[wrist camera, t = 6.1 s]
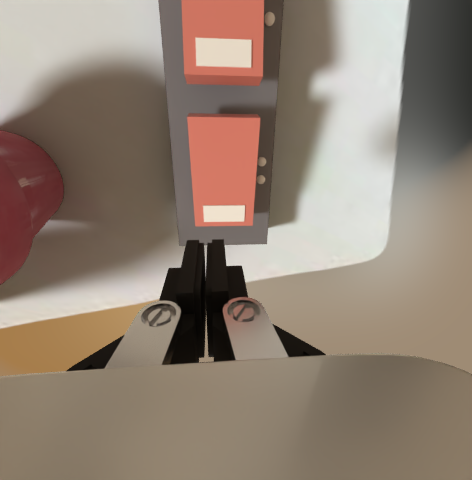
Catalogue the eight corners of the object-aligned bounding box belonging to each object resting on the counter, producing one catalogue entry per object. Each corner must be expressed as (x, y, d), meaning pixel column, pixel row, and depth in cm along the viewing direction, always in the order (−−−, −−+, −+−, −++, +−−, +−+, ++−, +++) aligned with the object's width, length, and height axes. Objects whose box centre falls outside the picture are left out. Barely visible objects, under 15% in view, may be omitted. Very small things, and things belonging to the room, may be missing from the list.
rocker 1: (181, -69, 17) (177, -98, 15) (260, -64, 17) (265, -91, 15) (187, 83, 18) (184, 73, 17) (258, 85, 19) (263, 76, 17)
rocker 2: (188, 113, 19) (187, 117, 18) (257, 114, 20) (260, 118, 18) (196, 217, 24) (195, 226, 23) (250, 217, 25) (252, 226, 23)
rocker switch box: (154, -155, 18) (132, -255, 13) (281, -143, 19) (304, -235, 14) (183, 230, 30) (177, 250, 25) (260, 229, 30) (268, 249, 26)
